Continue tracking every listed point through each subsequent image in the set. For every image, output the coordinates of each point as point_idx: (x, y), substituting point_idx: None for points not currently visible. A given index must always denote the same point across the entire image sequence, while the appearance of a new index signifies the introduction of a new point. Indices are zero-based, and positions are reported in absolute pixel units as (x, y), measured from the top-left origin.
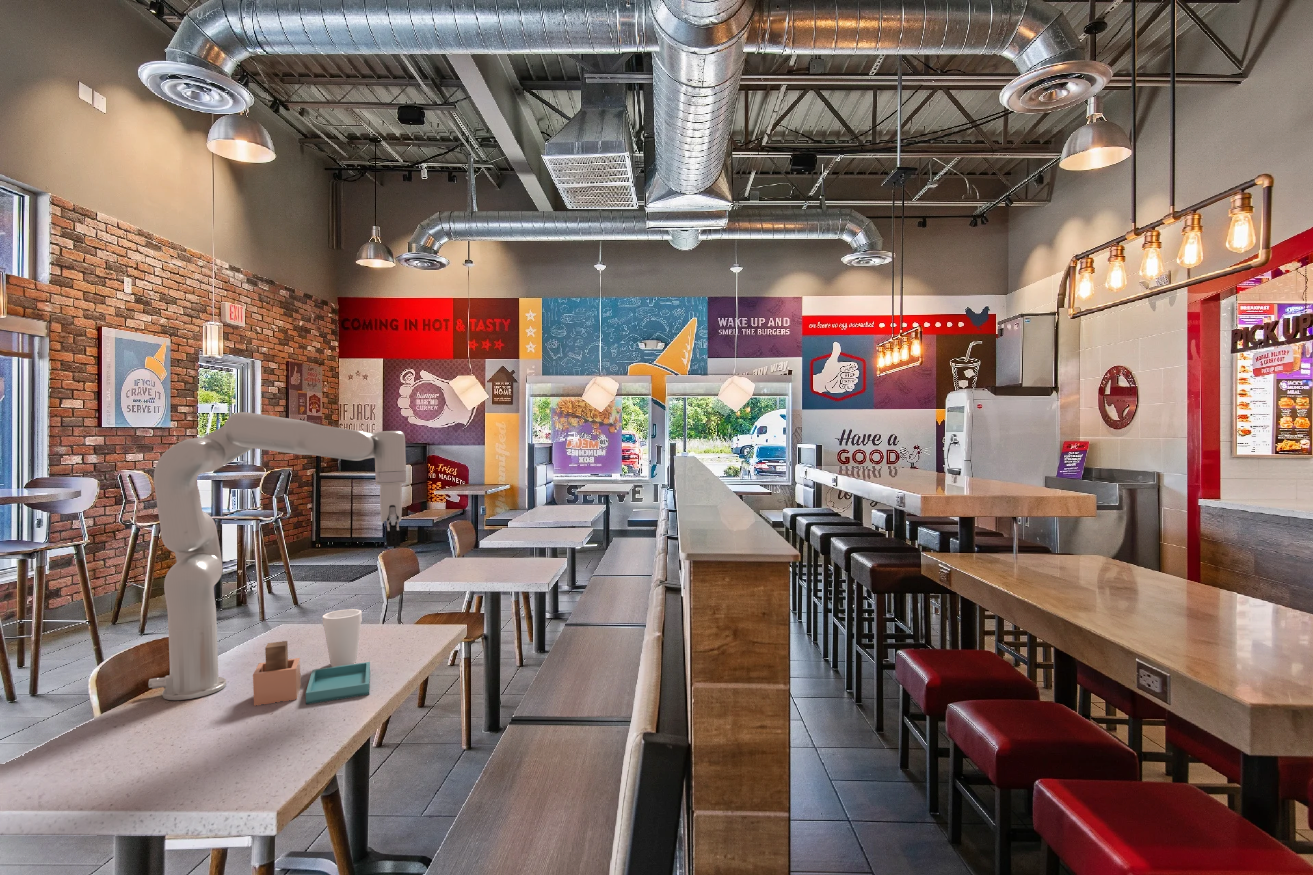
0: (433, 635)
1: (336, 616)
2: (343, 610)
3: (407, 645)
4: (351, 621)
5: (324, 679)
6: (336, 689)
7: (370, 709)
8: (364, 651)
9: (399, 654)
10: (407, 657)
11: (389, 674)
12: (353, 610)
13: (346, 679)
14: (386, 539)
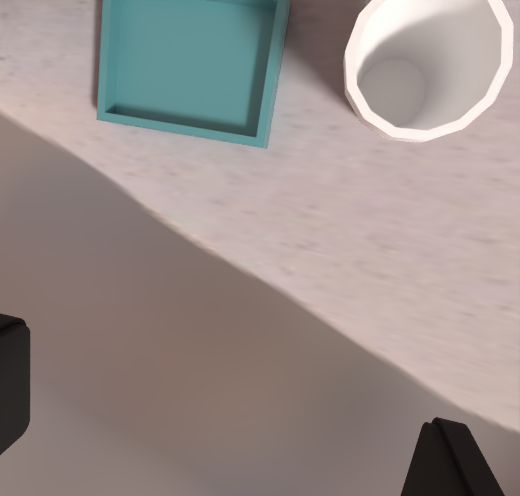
0: (487, 359)
1: (489, 42)
2: (498, 69)
3: (438, 277)
4: (346, 92)
5: (252, 30)
6: (102, 46)
7: (29, 111)
8: (469, 163)
9: (366, 240)
10: (325, 250)
11: (218, 185)
12: (467, 111)
13: (220, 84)
14: (441, 432)
